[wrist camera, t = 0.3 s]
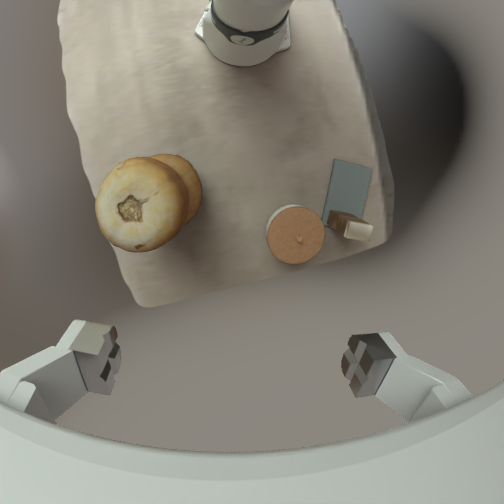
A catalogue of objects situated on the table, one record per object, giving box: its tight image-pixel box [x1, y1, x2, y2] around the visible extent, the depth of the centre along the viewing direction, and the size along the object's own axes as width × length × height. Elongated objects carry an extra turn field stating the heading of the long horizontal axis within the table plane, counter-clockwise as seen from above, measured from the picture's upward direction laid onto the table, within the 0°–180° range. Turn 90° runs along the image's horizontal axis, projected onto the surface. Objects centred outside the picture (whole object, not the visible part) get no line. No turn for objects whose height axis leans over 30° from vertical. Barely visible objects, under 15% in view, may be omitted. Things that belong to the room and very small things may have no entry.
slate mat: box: [321, 159, 372, 226], centre depth 55 cm, size 14×9×1 cm, turn 171°
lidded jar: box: [266, 205, 325, 264], centre depth 52 cm, size 11×11×9 cm
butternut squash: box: [95, 154, 202, 252], centre depth 40 cm, size 14×13×25 cm
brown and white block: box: [327, 210, 373, 242], centre depth 52 cm, size 3×5×10 cm, turn 81°
